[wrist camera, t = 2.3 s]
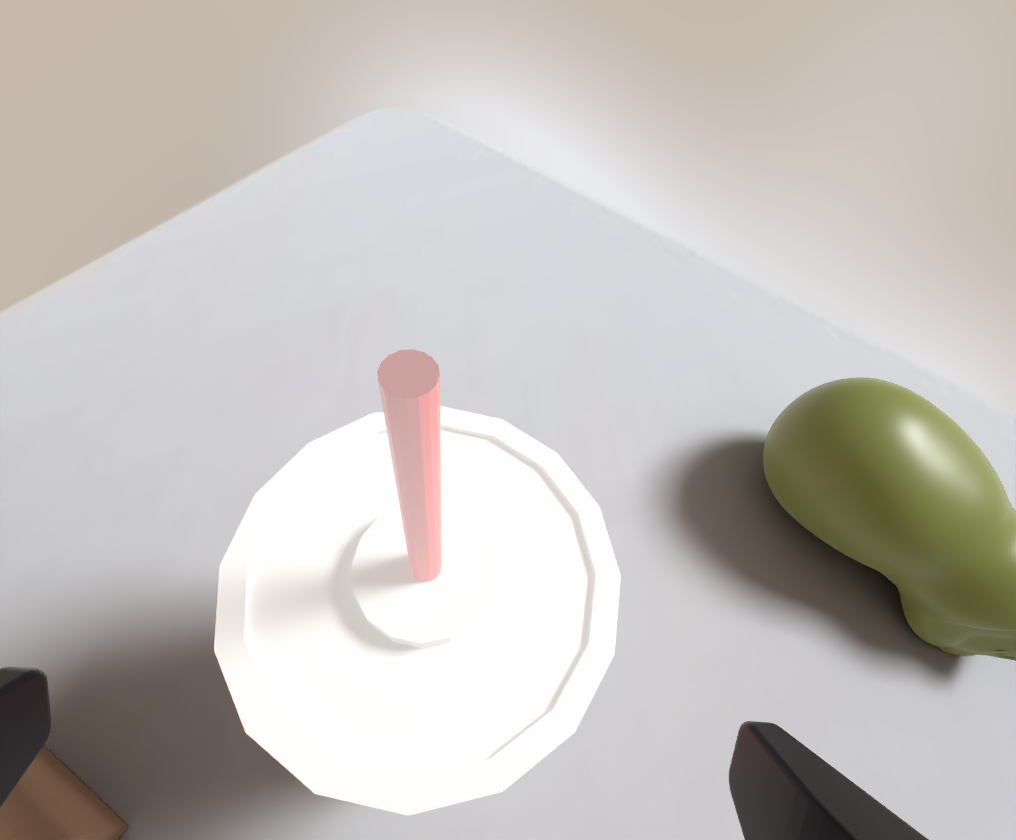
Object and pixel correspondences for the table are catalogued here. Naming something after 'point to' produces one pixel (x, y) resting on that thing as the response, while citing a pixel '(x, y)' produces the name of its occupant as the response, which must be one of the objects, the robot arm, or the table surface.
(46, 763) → the walnut box
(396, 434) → the beverage cup
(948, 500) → the pear
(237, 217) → the table surface
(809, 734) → the table surface
